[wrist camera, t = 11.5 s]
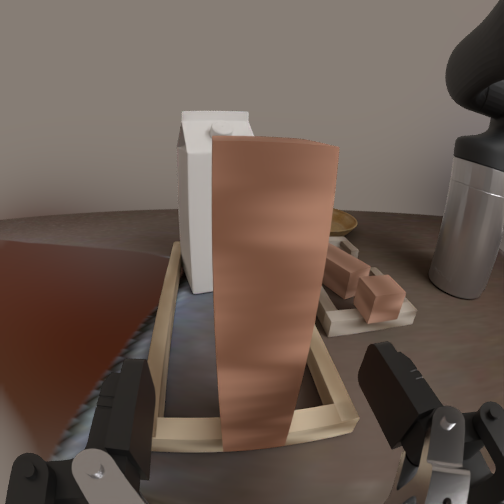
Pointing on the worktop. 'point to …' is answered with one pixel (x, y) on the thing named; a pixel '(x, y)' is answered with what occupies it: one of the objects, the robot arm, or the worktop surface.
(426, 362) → the worktop surface
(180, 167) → the milk carton
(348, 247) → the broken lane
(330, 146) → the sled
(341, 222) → the plant saucer
